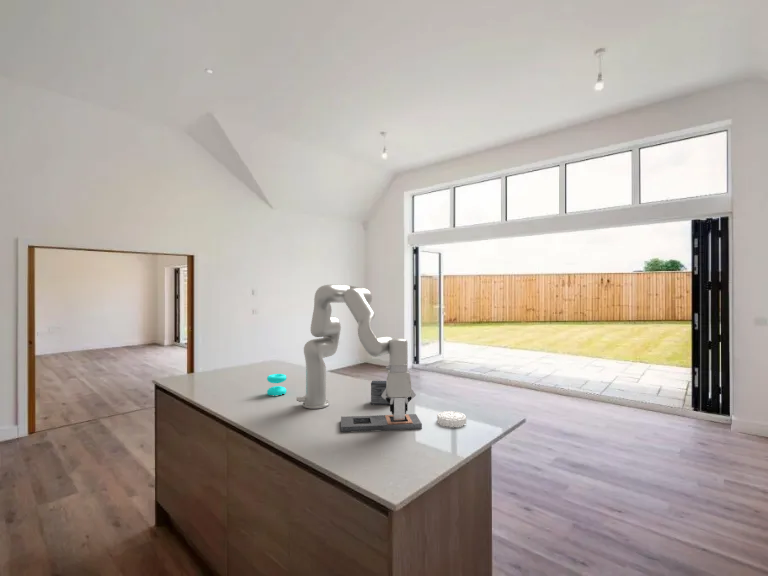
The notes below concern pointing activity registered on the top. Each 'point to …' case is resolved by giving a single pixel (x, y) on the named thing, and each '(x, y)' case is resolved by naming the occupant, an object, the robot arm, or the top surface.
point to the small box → (378, 393)
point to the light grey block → (399, 408)
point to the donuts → (276, 389)
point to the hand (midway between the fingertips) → (398, 412)
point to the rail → (379, 423)
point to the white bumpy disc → (451, 418)
